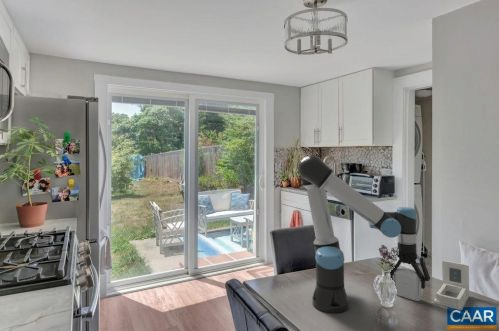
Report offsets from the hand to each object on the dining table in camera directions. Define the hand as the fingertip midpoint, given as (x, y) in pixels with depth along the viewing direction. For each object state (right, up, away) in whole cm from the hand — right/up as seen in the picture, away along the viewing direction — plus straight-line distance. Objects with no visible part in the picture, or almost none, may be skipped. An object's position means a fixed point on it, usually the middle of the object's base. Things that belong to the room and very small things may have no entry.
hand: (407, 291), depth 137 cm
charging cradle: (+17, -2, -4) cm, 18 cm away
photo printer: (0, -3, 0) cm, 3 cm away
